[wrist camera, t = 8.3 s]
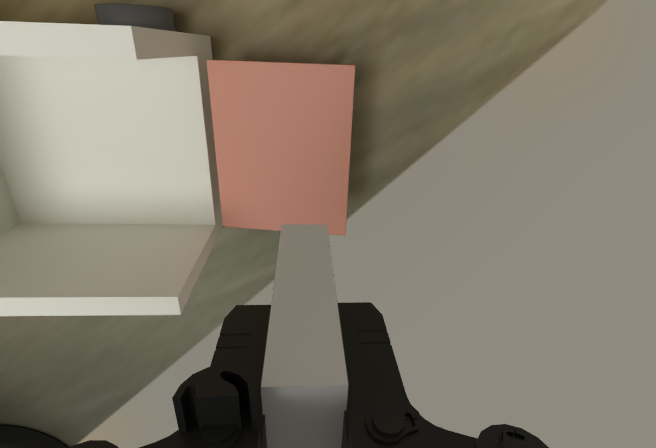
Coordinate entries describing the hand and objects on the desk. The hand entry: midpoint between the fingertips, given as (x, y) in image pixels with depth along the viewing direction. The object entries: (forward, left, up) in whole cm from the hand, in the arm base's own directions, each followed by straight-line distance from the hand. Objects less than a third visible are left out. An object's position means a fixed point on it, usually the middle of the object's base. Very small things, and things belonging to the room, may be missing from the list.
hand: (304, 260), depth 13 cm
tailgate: (0, +6, -14) cm, 16 cm away
